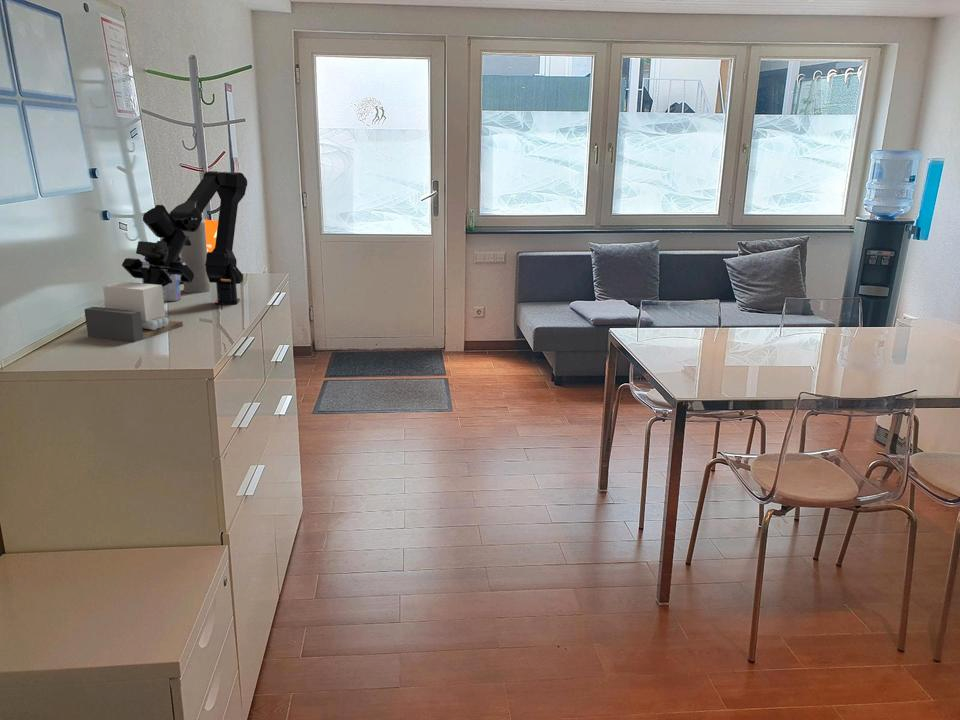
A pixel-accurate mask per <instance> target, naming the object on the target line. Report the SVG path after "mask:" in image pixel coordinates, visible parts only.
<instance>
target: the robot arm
mask: <svg viewBox="0 0 960 720" xmlns="http://www.w3.org/2000/svg"><path fill="white" fill-rule="evenodd" d="M247 186H248V179H247V177H246V176H245V175H244V174H243V173H242V172H238V171H237V172H235V171H233V172H232V171H229V172H228V171H217V170H216V171H215V170H214V171H213V170H207V171H205V172H204V173H203V177H202V179H201V180H200V182H199V183H198V185H197V186H196V187H195V189H194V190H193V191H192V192H191V194H190V196H189V197H188V198H187V200H185V201H184V202H182V203H180V204H178V205H177V206H175V207H174V208H173V209H172V210H171V211H170V212H168V211H167V208H166V206H165V205H163V204H156V205H155V207H153V208H151V209H148V210H147V211H146V212H145V213H144V214H143V216H142V221H143V223H144V224H145V225H146V226H147V227H148V229H149V230H150V231H151V232H152V233H153V235H154V236H155V237H157V238H161V239H160V240H157V241H156V242H152V241H140V240H139V241H138V242H137V246H136V251H135V254H137V255H140V256H143V257H144V258H143V259H144V260H146V261H147V262H149V263H142V261H143V260H141V259H140V258H136V257H135V258H133V257H126V258H124V260H123V261H122V264H121V266H122V267H123V269H124V270H125V271H126V272H128V274H129V275H130V276H131V277H133V278H135V279H141V280H142V279H143V283H145V284H156V285H162V287H164V286H166V285H167V284H169V283H172V282H173V281H172V280H171V279H172V277H173V276H175V275H182V276H181V278H180V279H181V281H182V282H188V283H191V282H192V280H193V278H194V273H193V272H192V270H191V269H190V268H189V267H188V266H187V264H186V263H185V262H180V260H181V258H180V257H179V254H180V252H181V250H182V248H183V246H191V241H190V240H189V236H186V235H185V234H184V233H183V231H187V232H195V231H196V230H197V229H198V227H199V225H200V223H201V221H202V220H203V211H204V210H205V209H206V207H207V206H208V204H209V203H210V201H211V200H212V198H213V197H214V196H215V194H216V193H217V194H218V197H219V199H220V205H219V211H218V220H217V221H218V227H217V235H216V243H215V248H214V249H213V251H212V252H208V253H207V255H206V263H205V266H206V272H207V276H208V279H209V282H210V284H211V283H213V284H216V297H217V299H216V301H214V305H237V304H238V303H239V302H240V301H241V298H238V290H237V289H238V288H237V284H238V285H239V284H241V283H243V281H244V274H243V273H242V272H241V271H240V269H239V268H238V267H237V263H238V262H237V258H236V256H235V254H234V252H233V248H234V247H233V246H234V241H235V240H234V238H235V230H236V222H237V215H238V206H239V203H240V202H241V201H242V199H243V198H244V197H245V195H246V190H247ZM174 274H175V275H174Z"/></svg>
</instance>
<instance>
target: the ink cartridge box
mask: <svg viewBox="0 0 960 720" xmlns="http://www.w3.org/2000/svg"><path fill="white" fill-rule="evenodd" d="M141 261H142V263H149V262H147V261H146V260H145V259H144V260H141ZM174 275H175V274H174ZM171 280H172V281H173V282H172V283H169V284H167V285H166V286H164V287H162V289H163V299H164V302H168V301H169V302H174V301H175V302H176V301H179V300H180V299H181V298H182V295H181V283H180V282H179V275H175V276H173V277H172V279H171ZM141 282H142V283H143V279H141Z"/></svg>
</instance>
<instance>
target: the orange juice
mask: <svg viewBox="0 0 960 720" xmlns="http://www.w3.org/2000/svg"><path fill="white" fill-rule="evenodd" d="M203 221H205V231H206V243H207V253H208V252H212V251H213V249H214V248H215V243H216V235H217V227H218V220H212V219H203Z"/></svg>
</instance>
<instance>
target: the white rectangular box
mask: <svg viewBox="0 0 960 720" xmlns="http://www.w3.org/2000/svg"><path fill="white" fill-rule="evenodd" d="M102 291H103V297H104V305H105V307H104V308H112V309H122V310H132V311H140V312H141V322H142V329H151V330H156V329H157V328H162V326H167V325H168V323H169V320H170V319H169V318H168V317H167V316H166V311H165V301H164V299H163V289H162V285H156V284H145V283H141V282H131V281H120V282H115V283H110V284H108V285H103V286H102Z"/></svg>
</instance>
